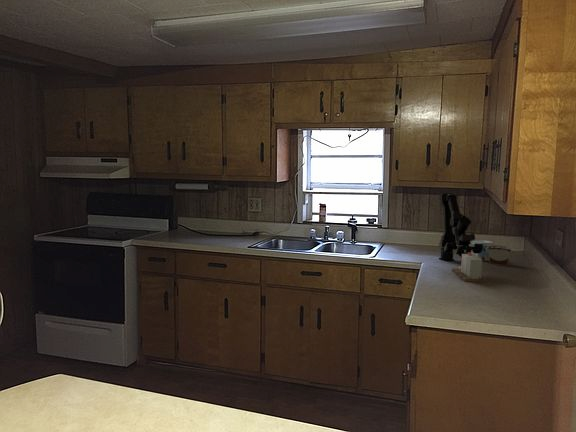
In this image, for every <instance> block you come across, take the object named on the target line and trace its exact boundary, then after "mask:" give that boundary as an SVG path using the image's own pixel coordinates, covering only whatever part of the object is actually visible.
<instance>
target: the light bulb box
mask: <svg viewBox="0 0 576 432" xmlns="http://www.w3.org/2000/svg"><path fill="white" fill-rule="evenodd" d="M475 243H478V244H483V247H484V248H483V250H482V252H481V253H479V254H477V253H473V252H472V251H471V253H472V254H473V255H475V256H477V257H478V258H480V259H482V262H485V261H486V262H487V261H488V262H489V249H488V247H489V246H491V245H495V243H494V242H493V241H491V240H490V241H489V240H472V241H471V246H474V244H475Z"/></svg>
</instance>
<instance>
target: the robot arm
mask: <svg viewBox="0 0 576 432" xmlns="http://www.w3.org/2000/svg"><path fill="white" fill-rule="evenodd" d="M457 196H458V195H457V194H454V192H441V194H439V196H438V199H439V203H440V205H441V207H442V209H443V211H442V212H443V233H442V236H441V239H440V240H439V244H438V249H439V250H440V257H439V258H438V259H439V260H441V261H445V262H448V261H451V262H452V261H455V258H454V251H456V252H455V255H458V256H459V257H460V258H461V259H462V254H468V253H471V251H472V252H473V253H477V254H479V253H481V252H482V250H483V248H484V247H483V244H478V243H475V244H474V246H472V245H471V242H472V241H476V234H475V233H468V234H467V233H466V232H467V231H468V230H469V229H470V228H469V227H471V226H470V225H471V223H472V221H471V219H470V218H469V217H467V216H466V215H464V214H463V213H462V212H461V210H460V208H459V203H458V197H457Z"/></svg>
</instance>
